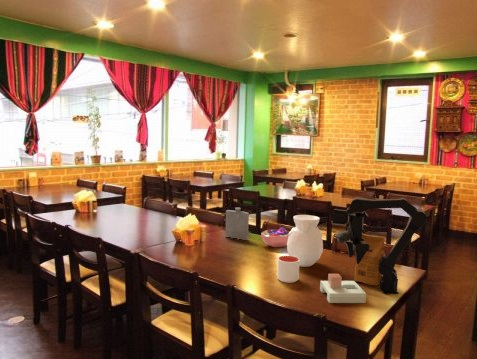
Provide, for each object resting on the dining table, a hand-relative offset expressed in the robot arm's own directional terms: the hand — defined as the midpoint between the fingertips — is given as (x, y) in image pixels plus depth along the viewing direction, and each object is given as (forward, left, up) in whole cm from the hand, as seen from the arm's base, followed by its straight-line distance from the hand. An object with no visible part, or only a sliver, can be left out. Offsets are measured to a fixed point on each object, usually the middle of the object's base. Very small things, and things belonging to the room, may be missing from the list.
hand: (354, 260), depth 181 cm
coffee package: (-9, -5, -12) cm, 16 cm away
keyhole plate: (+8, +11, -12) cm, 18 cm away
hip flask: (+47, -81, -12) cm, 94 cm away
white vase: (+15, -31, -12) cm, 36 cm away
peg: (+12, +11, -12) cm, 20 cm away
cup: (+28, -8, -12) cm, 32 cm away
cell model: (+24, -64, -12) cm, 69 cm away
